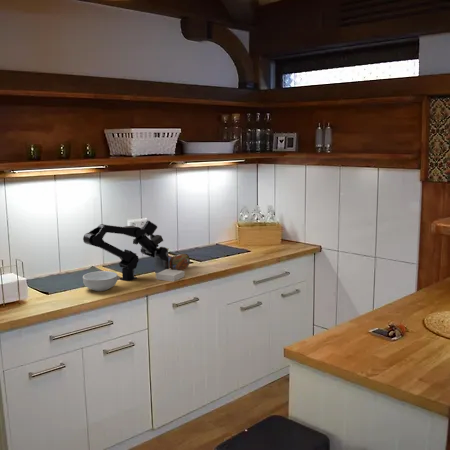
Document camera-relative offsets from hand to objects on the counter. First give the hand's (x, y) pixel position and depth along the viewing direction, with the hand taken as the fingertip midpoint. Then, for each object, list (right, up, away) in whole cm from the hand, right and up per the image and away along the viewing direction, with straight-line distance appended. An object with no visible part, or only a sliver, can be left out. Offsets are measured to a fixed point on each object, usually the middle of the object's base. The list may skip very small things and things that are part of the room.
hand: (163, 259), depth 304 cm
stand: (+5, -9, -12) cm, 16 cm away
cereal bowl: (-27, -13, -32) cm, 44 cm away
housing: (-1, -7, +1) cm, 7 cm away
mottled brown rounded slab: (+9, -6, +7) cm, 13 cm away
